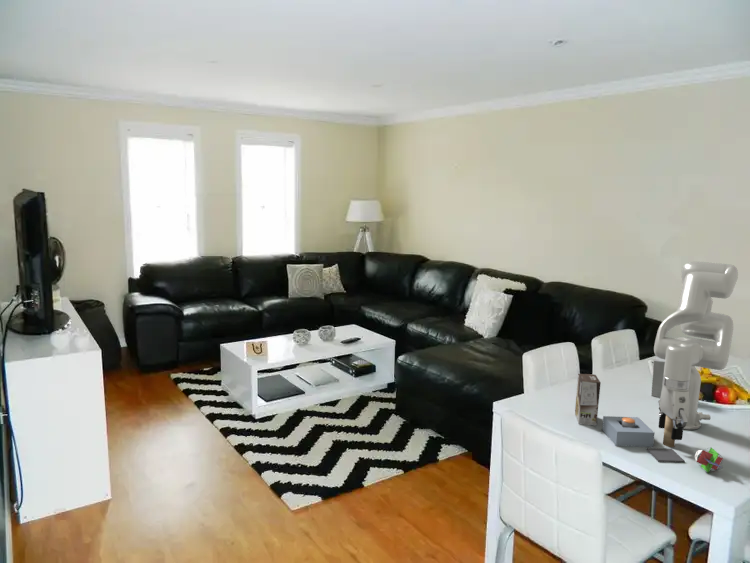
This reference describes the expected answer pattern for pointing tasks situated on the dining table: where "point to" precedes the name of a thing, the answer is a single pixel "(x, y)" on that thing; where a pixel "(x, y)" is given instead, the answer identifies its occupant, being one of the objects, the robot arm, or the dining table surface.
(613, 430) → the grey button housing
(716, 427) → the dining table surface
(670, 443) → the beech dowel
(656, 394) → the skincare box
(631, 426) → the orange push button
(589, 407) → the coffee box
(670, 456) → the rubber pad
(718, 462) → the geometric puzzle
